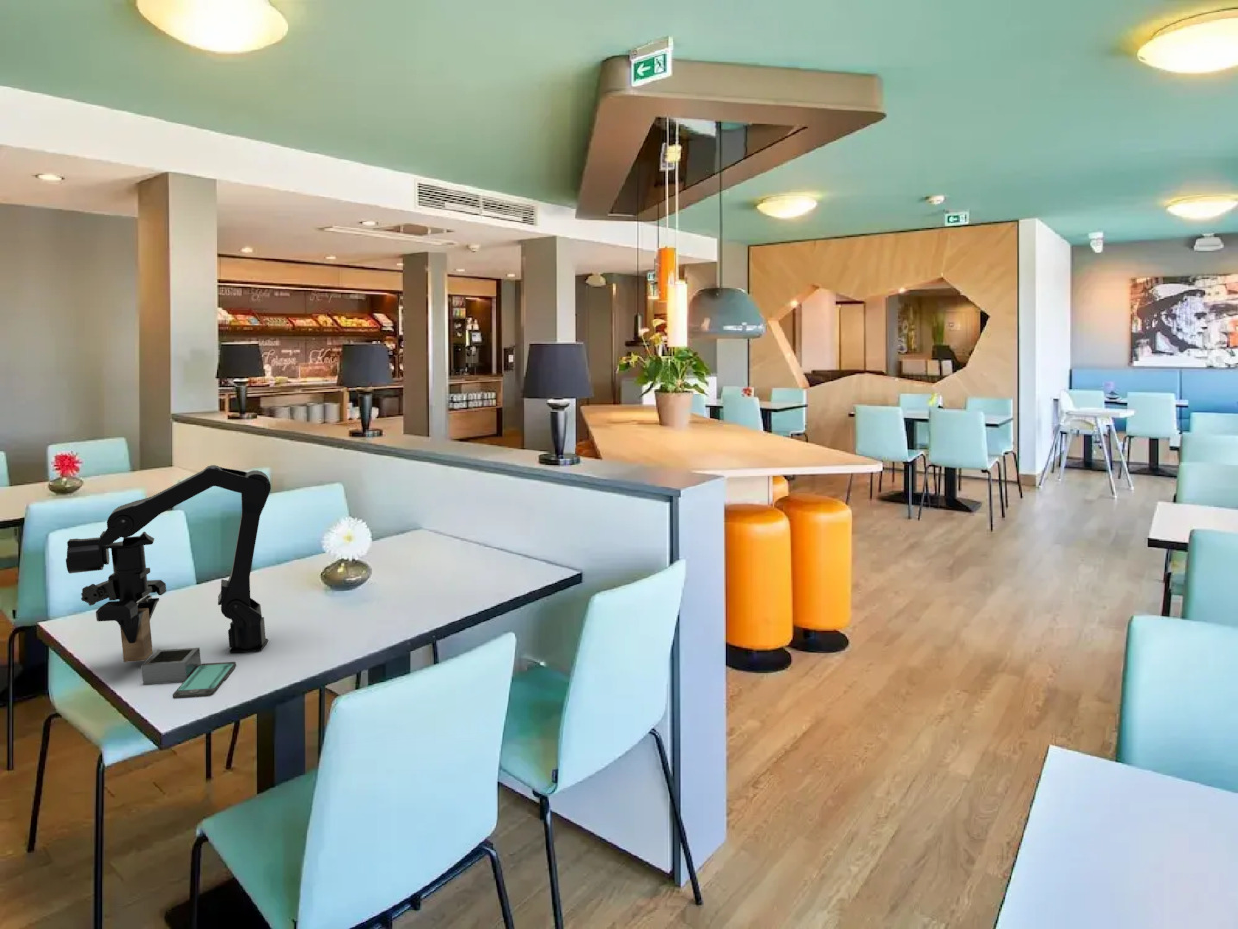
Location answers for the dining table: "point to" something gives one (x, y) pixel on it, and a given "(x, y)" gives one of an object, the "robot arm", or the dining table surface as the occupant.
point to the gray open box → (170, 665)
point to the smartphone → (205, 680)
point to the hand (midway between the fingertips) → (136, 639)
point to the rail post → (139, 641)
